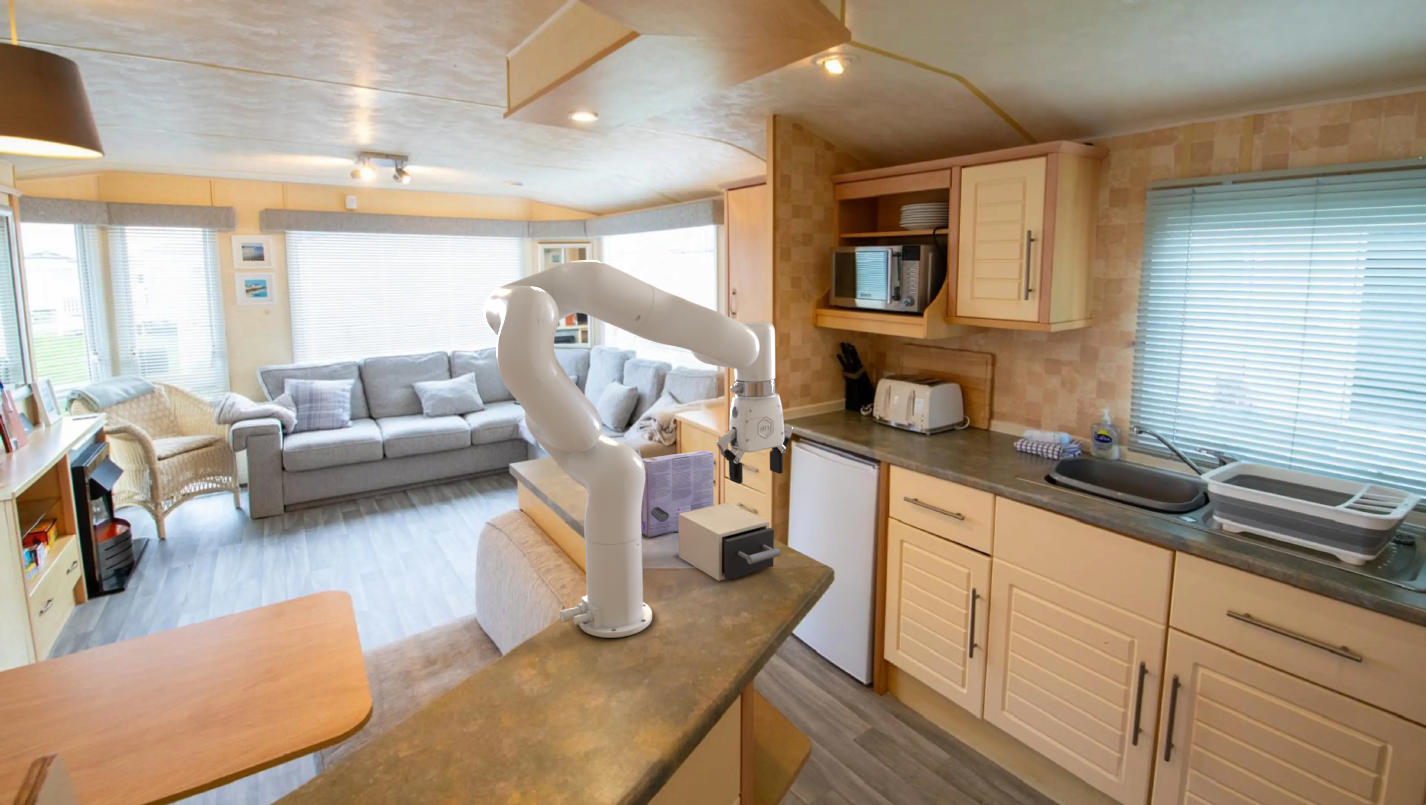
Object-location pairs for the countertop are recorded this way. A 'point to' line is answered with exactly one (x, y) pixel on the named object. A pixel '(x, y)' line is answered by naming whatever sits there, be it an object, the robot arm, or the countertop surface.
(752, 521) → the cream drawer cabinet
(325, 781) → the countertop surface
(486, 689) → the countertop surface
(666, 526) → the cake pan box
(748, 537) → the black drawer
